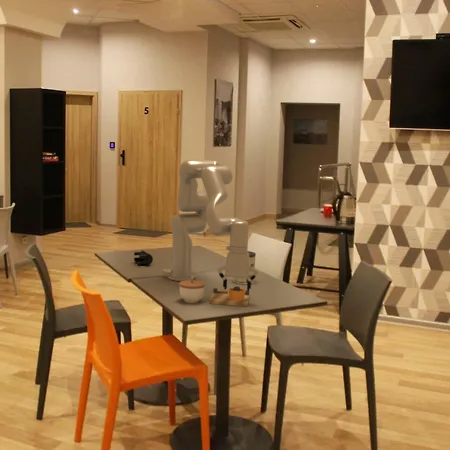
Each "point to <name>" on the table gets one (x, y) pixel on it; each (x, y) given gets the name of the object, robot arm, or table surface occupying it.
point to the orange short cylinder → (236, 294)
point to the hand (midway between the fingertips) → (236, 289)
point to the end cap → (143, 258)
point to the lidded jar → (191, 290)
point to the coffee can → (252, 264)
